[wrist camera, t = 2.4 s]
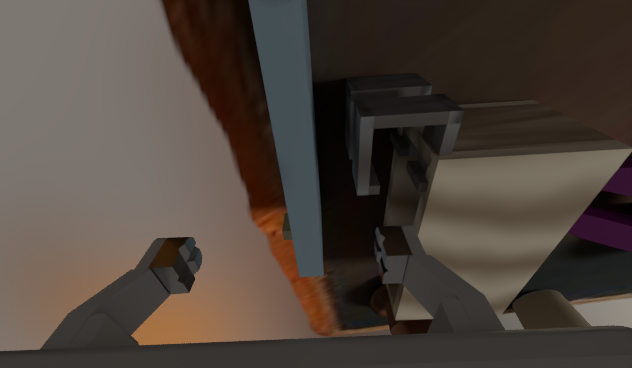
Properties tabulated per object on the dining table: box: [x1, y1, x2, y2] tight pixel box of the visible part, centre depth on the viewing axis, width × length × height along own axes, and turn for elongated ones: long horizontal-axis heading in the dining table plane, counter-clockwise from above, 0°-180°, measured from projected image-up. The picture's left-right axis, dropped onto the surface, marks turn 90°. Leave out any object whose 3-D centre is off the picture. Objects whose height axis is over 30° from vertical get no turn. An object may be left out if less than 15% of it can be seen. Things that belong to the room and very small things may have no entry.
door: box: [248, 0, 324, 277], centre depth 20 cm, size 23×4×10 cm, turn 4°
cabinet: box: [345, 74, 632, 320], centre depth 25 cm, size 25×17×9 cm
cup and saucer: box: [370, 284, 433, 335], centre depth 40 cm, size 12×12×6 cm
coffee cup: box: [513, 289, 592, 329], centre depth 40 cm, size 9×9×12 cm
